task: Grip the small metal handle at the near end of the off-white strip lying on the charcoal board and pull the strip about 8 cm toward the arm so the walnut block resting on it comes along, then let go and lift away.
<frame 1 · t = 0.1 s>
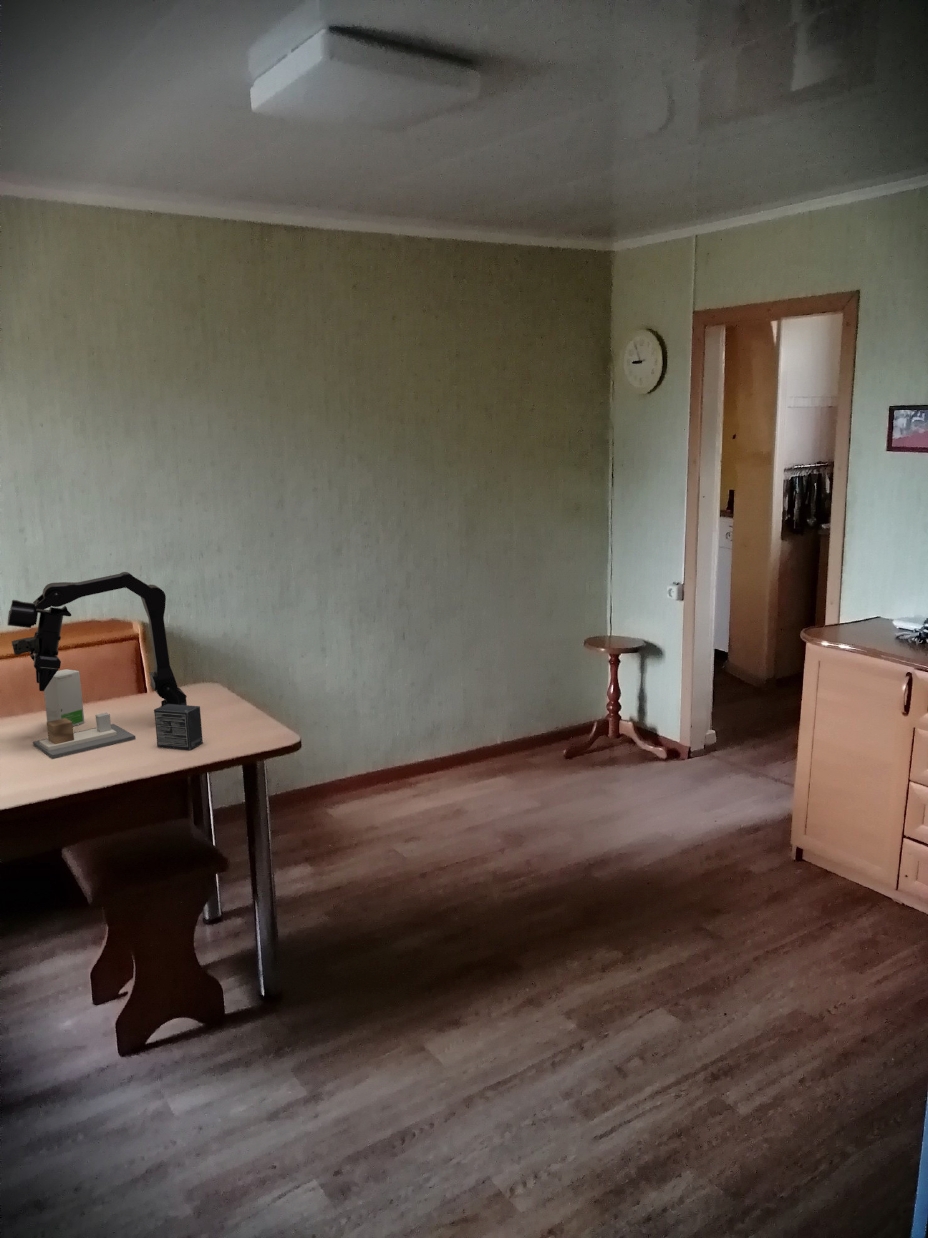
hand: (40, 687, 259), 15 cm above the table, tool pointing down, fingers open, 9 cm apart
charcoal board: (84, 742, 260), on the table
off-white strip: (77, 730, 259), point 4 cm above the table, slide at 0.0 cm, touching walnut block
small box: (180, 746, 256), on the table
skincare box: (66, 725, 276), on the table
walnut block: (61, 740, 256), point 2 cm above the table, touching off-white strip
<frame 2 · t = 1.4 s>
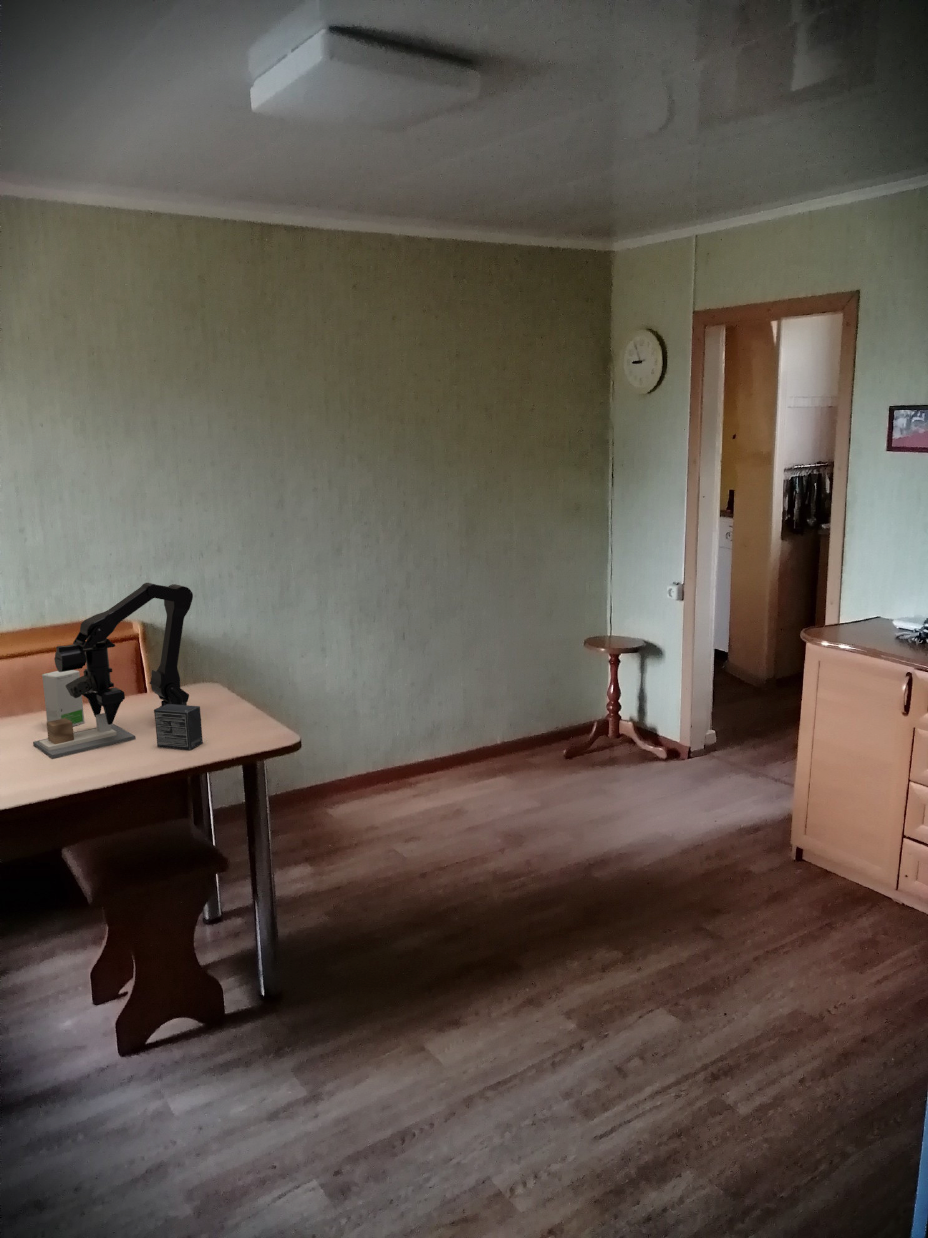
hand: (103, 720, 263), 5 cm above the table, tool pointing down, fingers open, 9 cm apart
nothing on the table moved.
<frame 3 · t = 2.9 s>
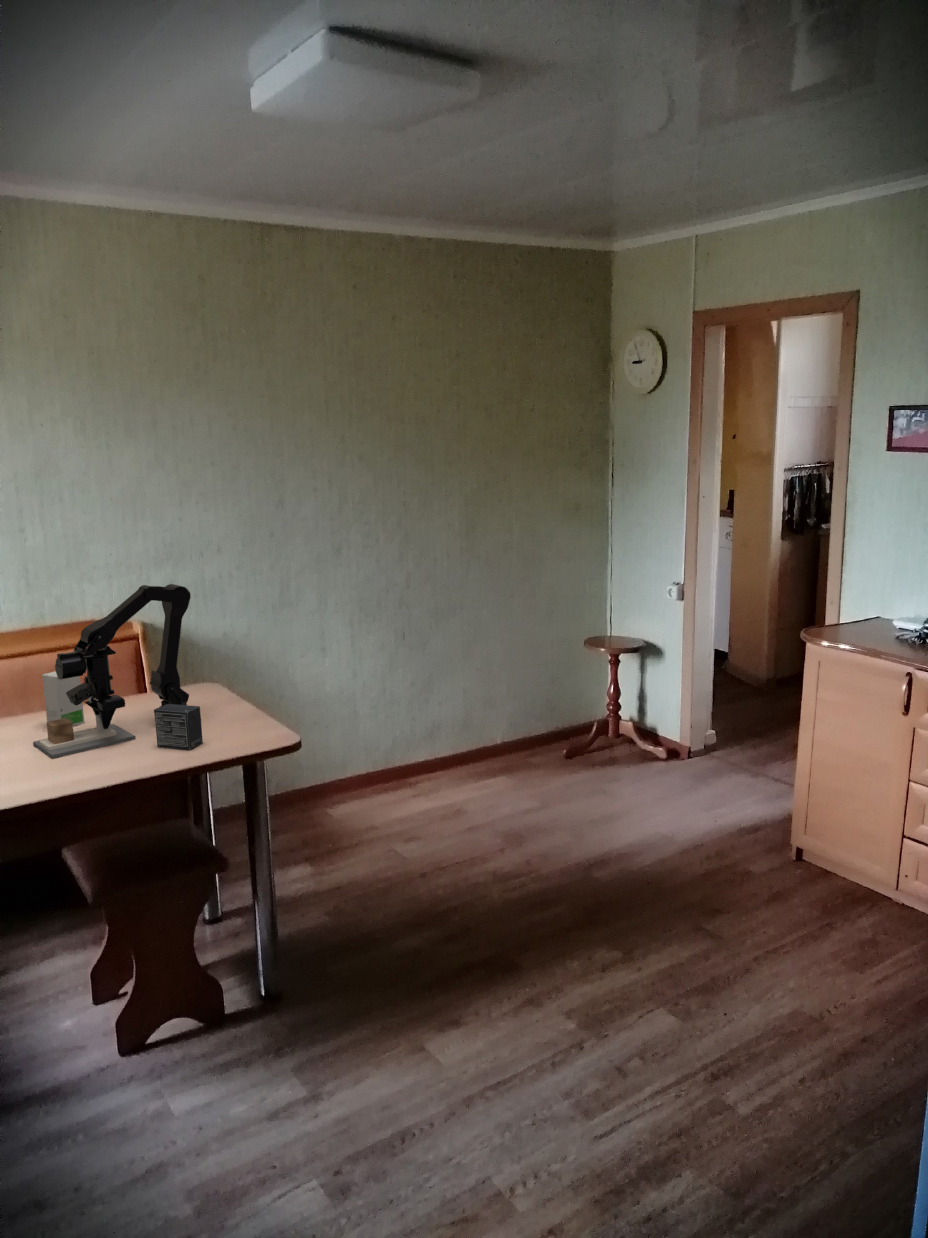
hand: (104, 727, 263), 3 cm above the table, tool pointing down, fingers closed on off-white strip, 2 cm apart
off-white strip: (77, 730, 259), point 4 cm above the table, slide at 0.0 cm, touching gripper, walnut block
everything else where it was.
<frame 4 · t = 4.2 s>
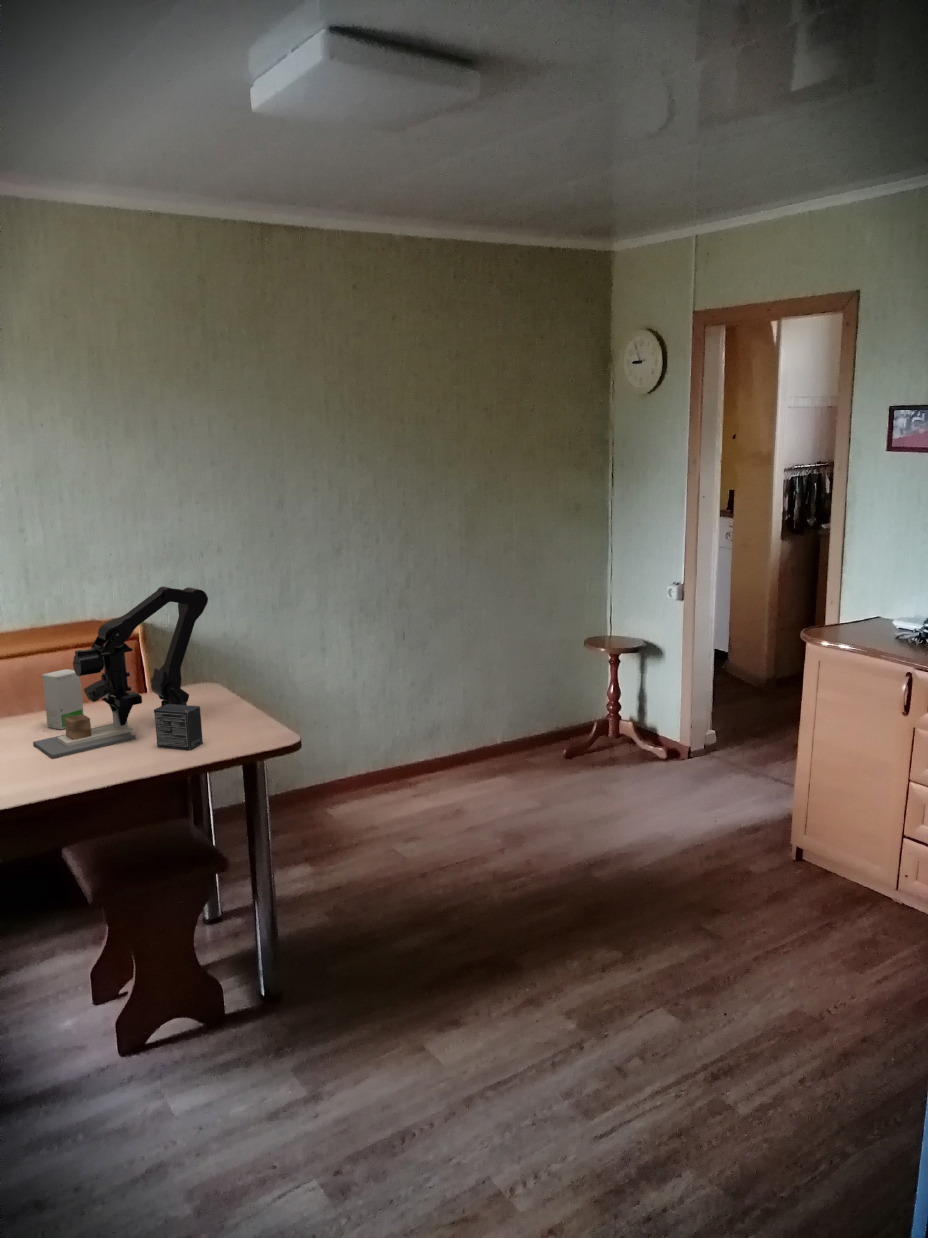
hand: (120, 724, 266), 3 cm above the table, tool pointing down, fingers closed on off-white strip, 2 cm apart
off-white strip: (95, 726, 262), point 4 cm above the table, slide at 4.7 cm, touching gripper, walnut block
walnut block: (78, 736, 259), point 2 cm above the table, touching off-white strip
everything else where it was.
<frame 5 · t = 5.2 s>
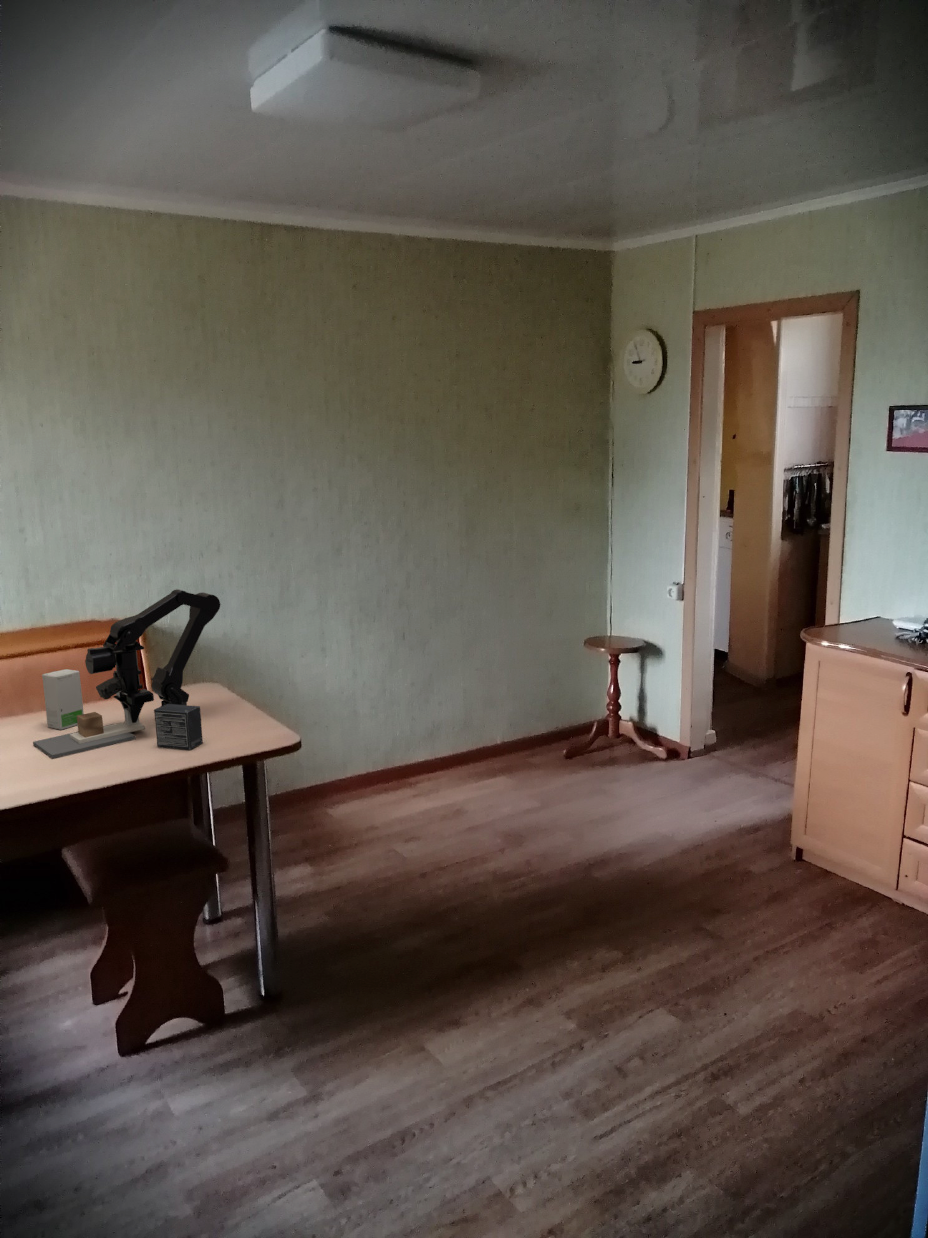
hand: (132, 721, 269), 3 cm above the table, tool pointing down, fingers closed on off-white strip, 2 cm apart
off-white strip: (107, 723, 264), point 4 cm above the table, slide at 7.9 cm, touching gripper, walnut block
walnut block: (91, 733, 261), point 2 cm above the table, touching off-white strip
everything else where it was.
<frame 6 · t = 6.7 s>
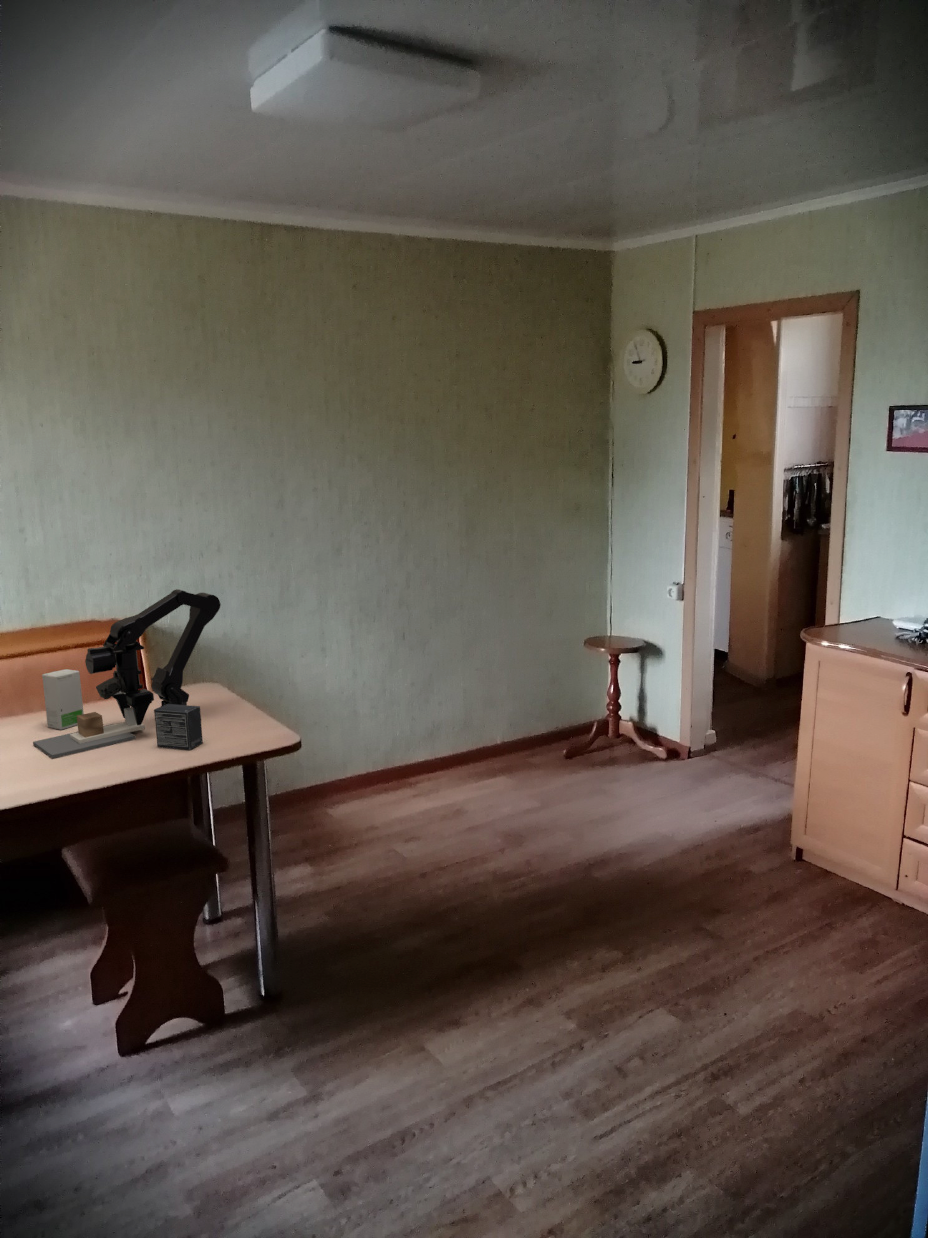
hand: (132, 721, 269), 3 cm above the table, tool pointing down, fingers open, 9 cm apart
off-white strip: (107, 723, 264), point 4 cm above the table, slide at 8.0 cm, touching walnut block
everything else where it was.
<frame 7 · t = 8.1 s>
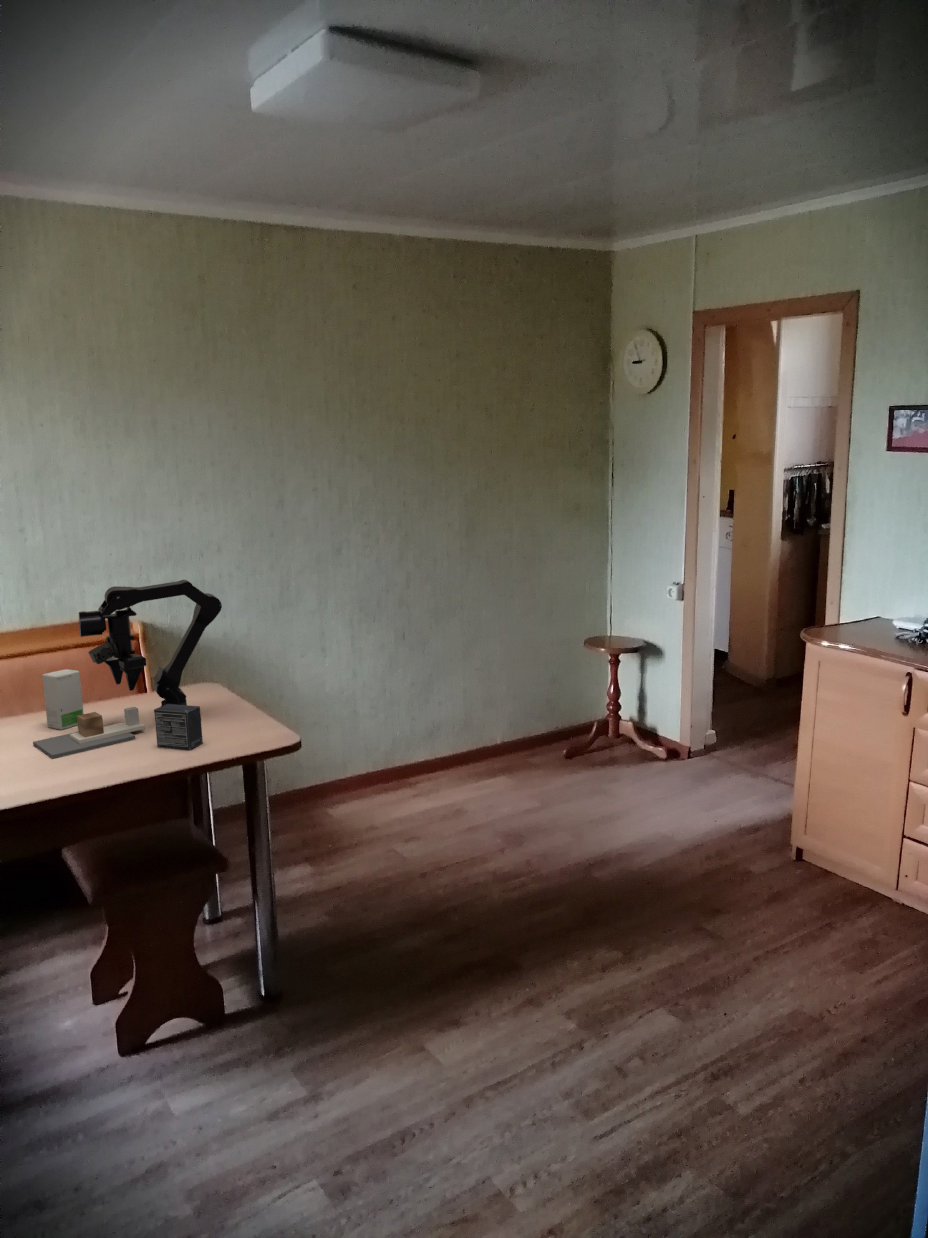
hand: (124, 687, 269), 12 cm above the table, tool pointing down, fingers open, 9 cm apart
nothing on the table moved.
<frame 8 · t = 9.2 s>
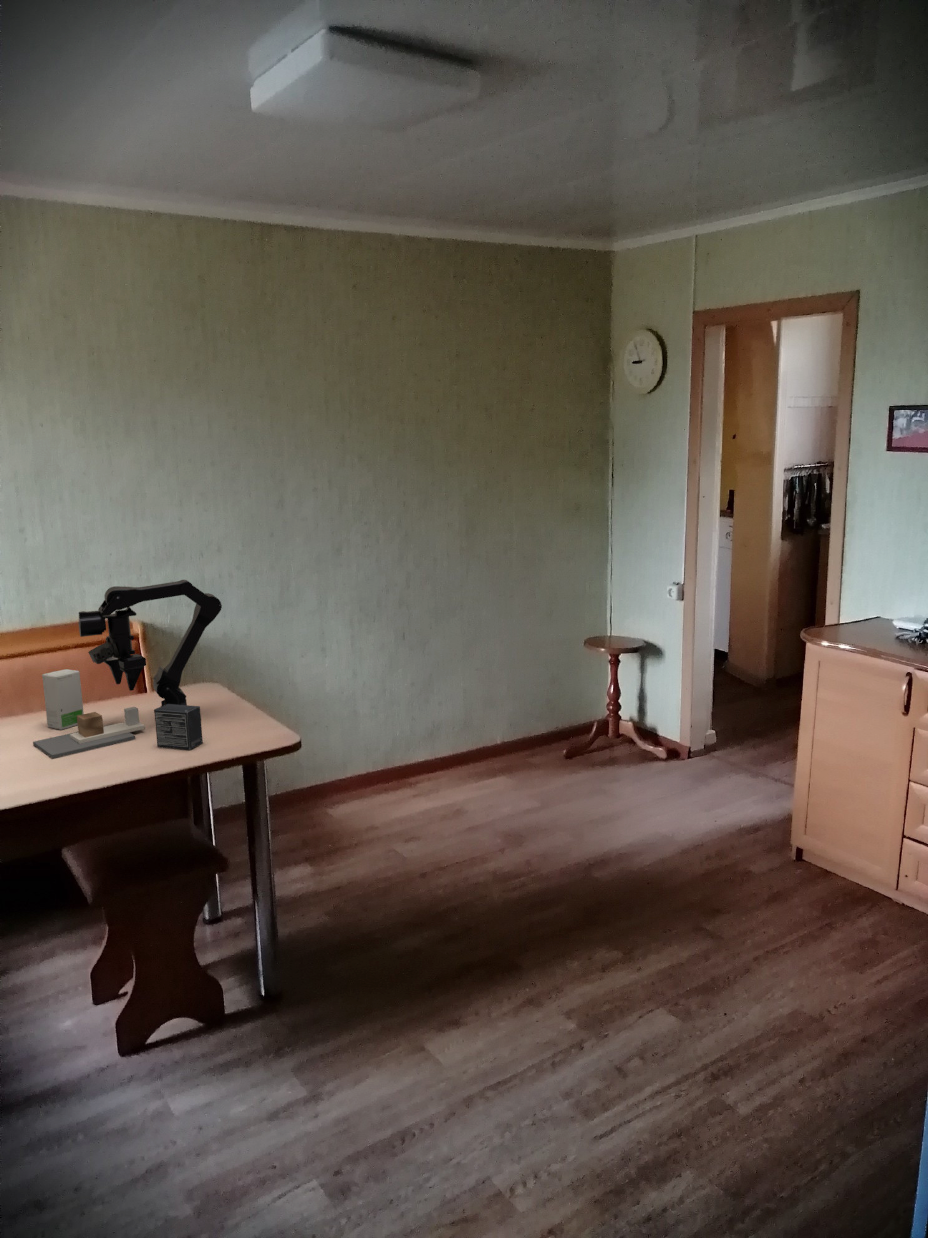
hand: (124, 687, 269), 12 cm above the table, tool pointing down, fingers open, 9 cm apart
nothing on the table moved.
at the end: walnut block inside the target area (0.3 cm from its centre), point 2.0 cm above the table; off-white strip slide at 8.0 cm; walnut block tilted 0° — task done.
